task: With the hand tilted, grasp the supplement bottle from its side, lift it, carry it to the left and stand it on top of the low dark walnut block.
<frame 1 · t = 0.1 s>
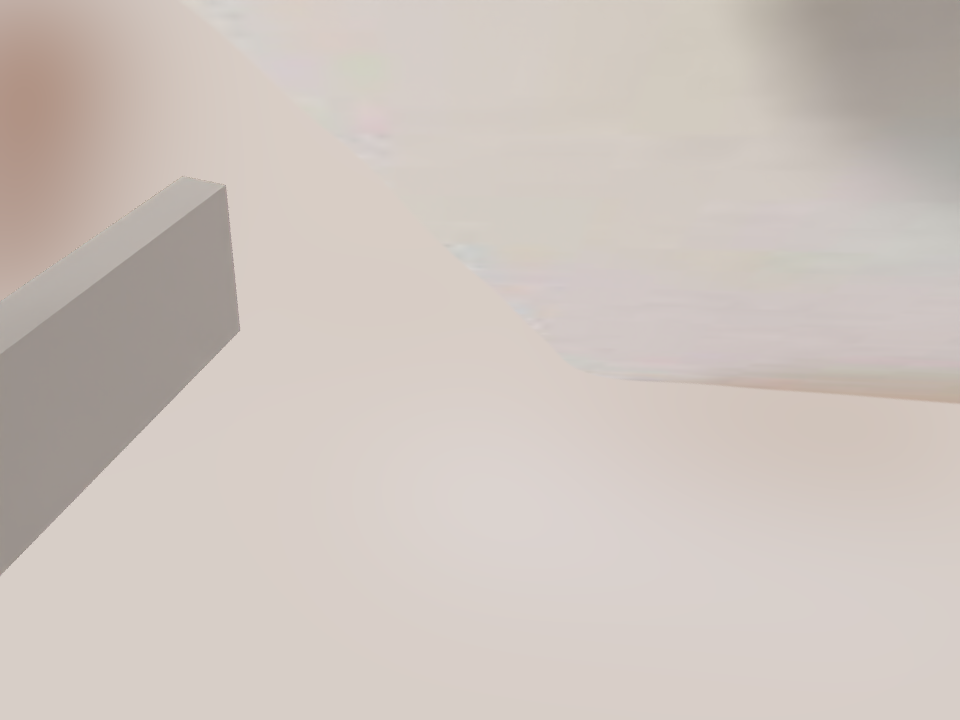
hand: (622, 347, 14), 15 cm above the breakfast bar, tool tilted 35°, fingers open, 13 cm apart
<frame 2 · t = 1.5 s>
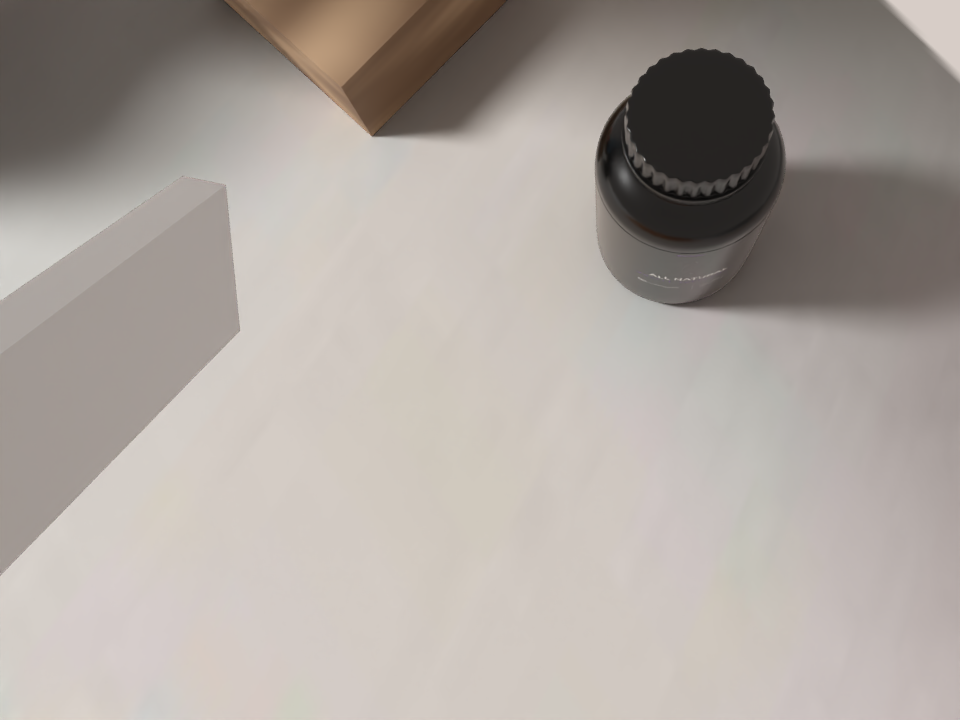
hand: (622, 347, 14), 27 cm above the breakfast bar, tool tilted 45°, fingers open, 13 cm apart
supplement bottle: (674, 235, 41), on the breakfast bar
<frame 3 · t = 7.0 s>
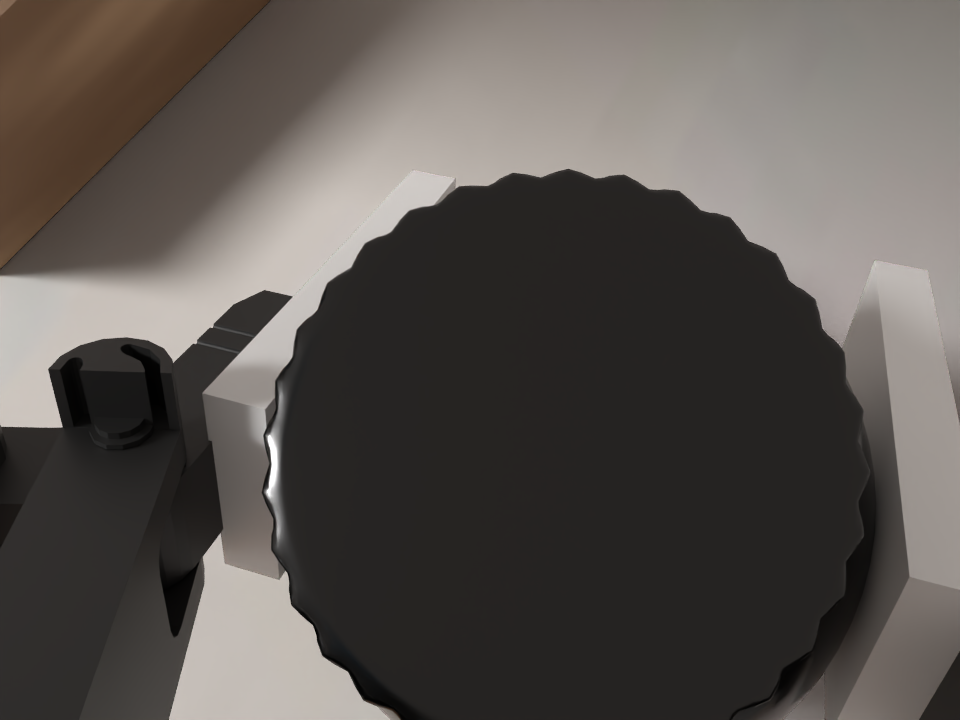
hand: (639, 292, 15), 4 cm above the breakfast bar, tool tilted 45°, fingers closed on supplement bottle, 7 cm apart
supplement bottle: (592, 511, 19), on the breakfast bar, touching gripper
when the fingers open (10 cm above the breakfast bar, at t = 13.5 s): supplement bottle stays where it is, resting on walnut block.
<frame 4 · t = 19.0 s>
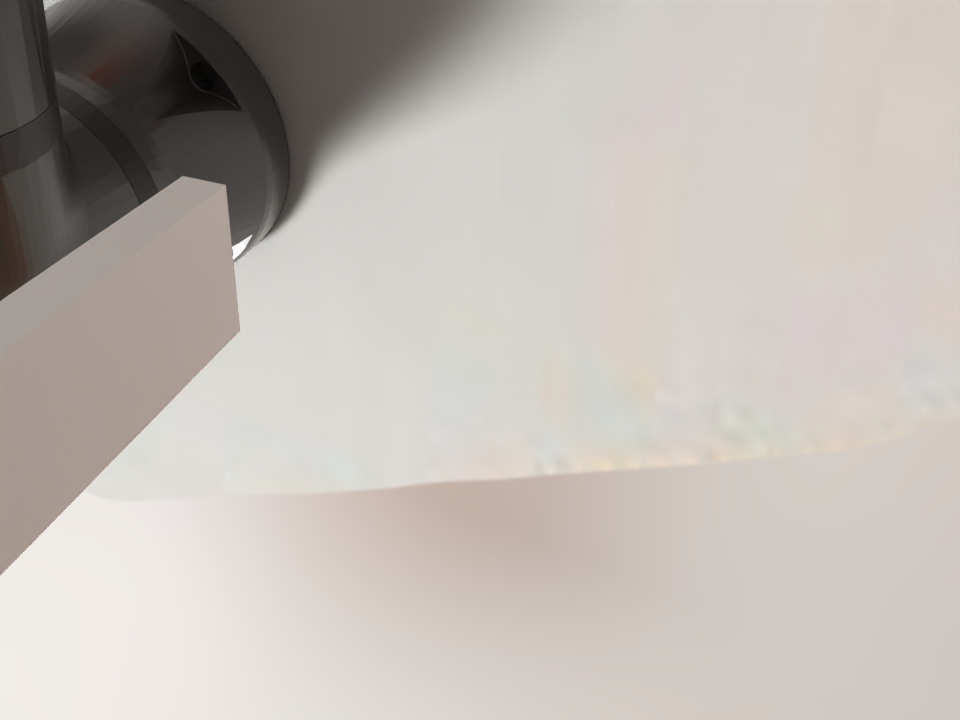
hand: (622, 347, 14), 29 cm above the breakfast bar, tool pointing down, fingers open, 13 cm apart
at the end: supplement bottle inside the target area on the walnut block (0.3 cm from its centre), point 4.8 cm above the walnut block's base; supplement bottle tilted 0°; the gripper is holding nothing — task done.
